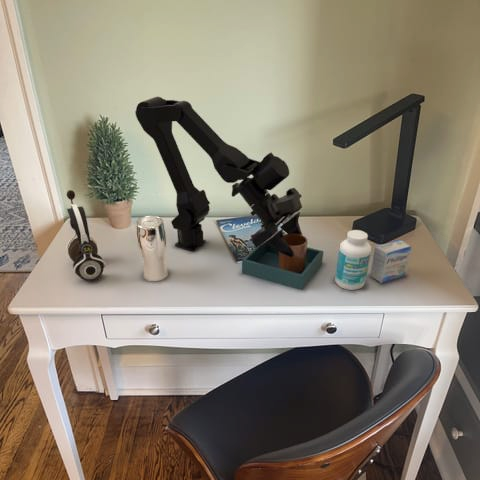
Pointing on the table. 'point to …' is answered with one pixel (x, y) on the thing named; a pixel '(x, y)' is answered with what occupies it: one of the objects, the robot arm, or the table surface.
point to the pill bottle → (353, 260)
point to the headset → (83, 245)
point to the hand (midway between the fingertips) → (298, 249)
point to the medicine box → (390, 261)
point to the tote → (266, 267)
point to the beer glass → (152, 246)
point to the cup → (299, 250)
